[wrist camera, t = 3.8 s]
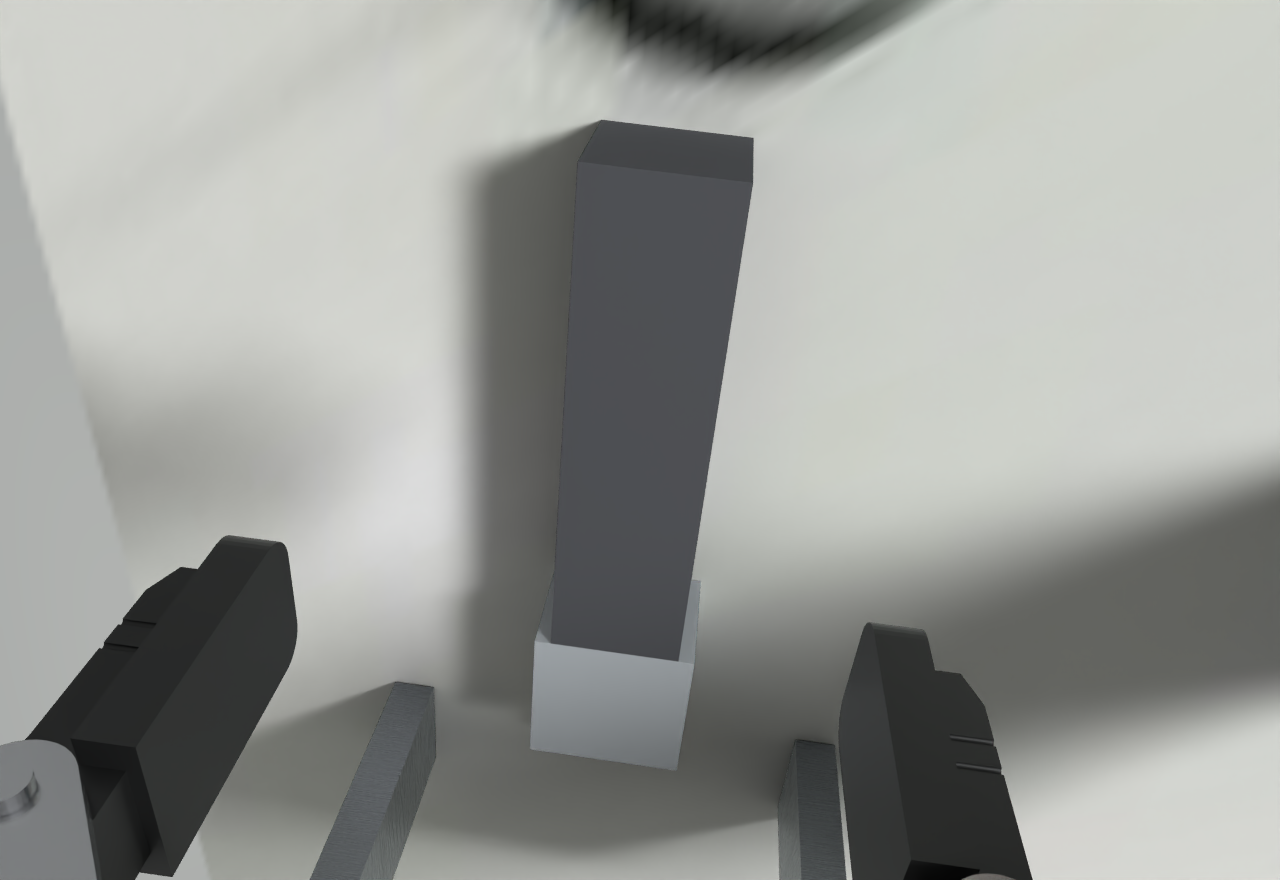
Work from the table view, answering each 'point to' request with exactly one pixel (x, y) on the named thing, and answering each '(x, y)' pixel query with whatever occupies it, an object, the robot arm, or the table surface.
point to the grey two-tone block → (638, 436)
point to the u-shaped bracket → (405, 753)
